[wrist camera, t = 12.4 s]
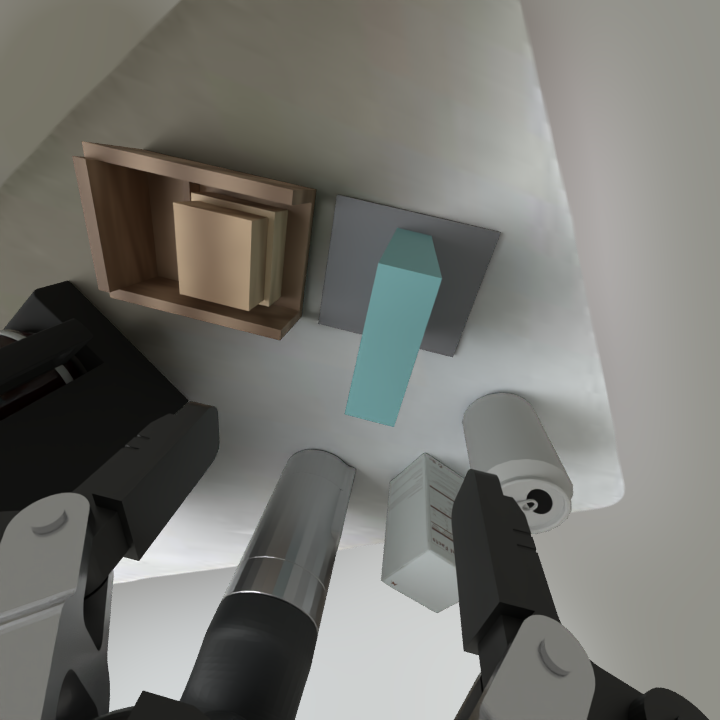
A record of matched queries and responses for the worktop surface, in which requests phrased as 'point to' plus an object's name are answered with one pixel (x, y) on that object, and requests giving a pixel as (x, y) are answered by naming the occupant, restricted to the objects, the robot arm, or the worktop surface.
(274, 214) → the lower offcut
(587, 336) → the worktop surface
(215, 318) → the walnut rack
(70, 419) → the coffee maker
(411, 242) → the teal board
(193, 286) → the upper offcut
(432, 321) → the charcoal mat
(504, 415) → the can
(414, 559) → the supplement box
